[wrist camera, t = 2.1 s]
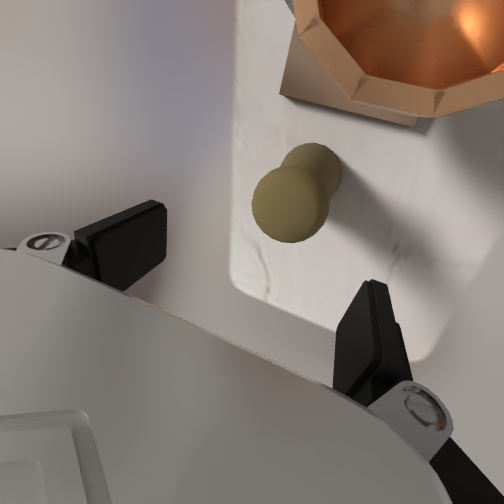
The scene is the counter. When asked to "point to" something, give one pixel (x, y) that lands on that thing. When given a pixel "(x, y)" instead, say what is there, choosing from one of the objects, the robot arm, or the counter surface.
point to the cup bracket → (396, 56)
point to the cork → (297, 194)
